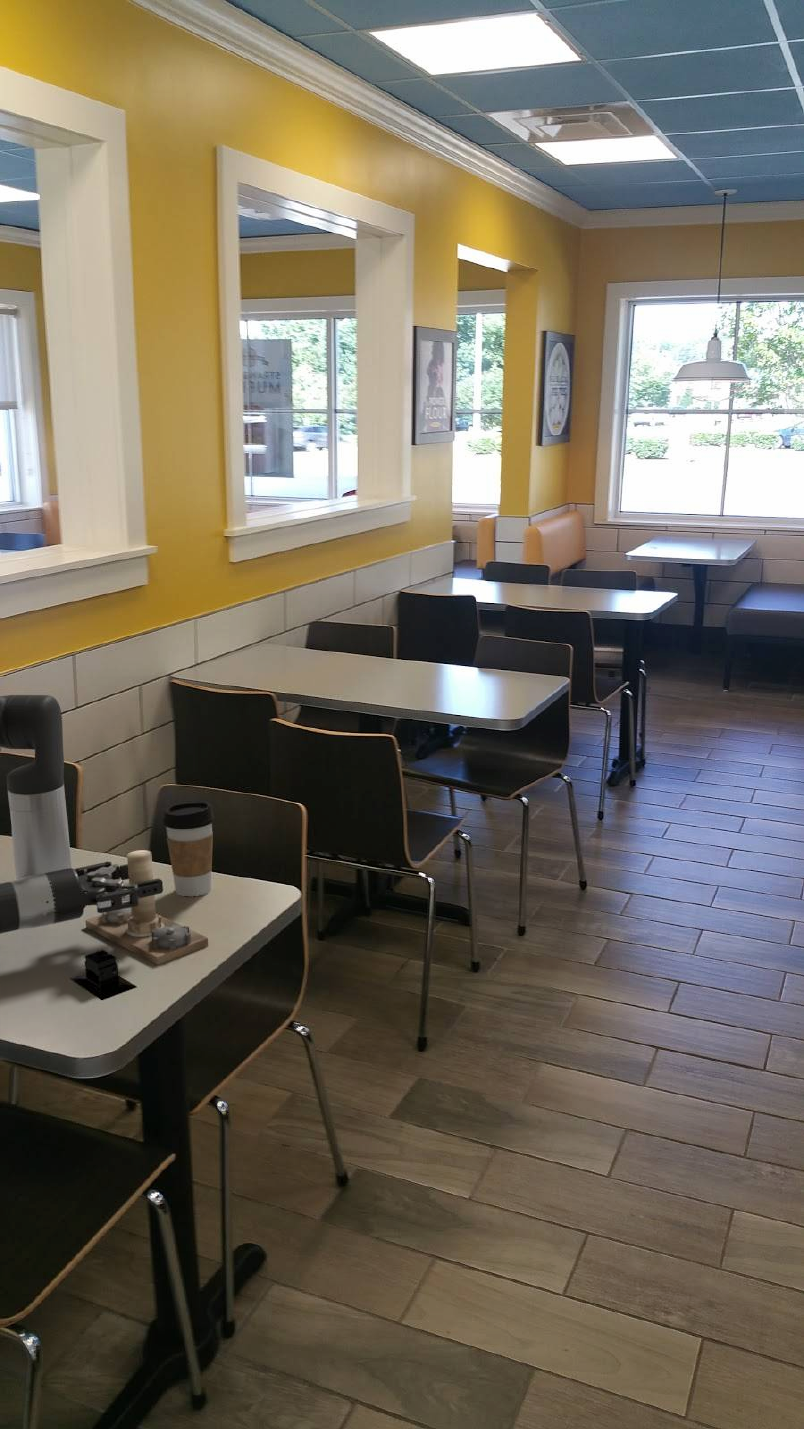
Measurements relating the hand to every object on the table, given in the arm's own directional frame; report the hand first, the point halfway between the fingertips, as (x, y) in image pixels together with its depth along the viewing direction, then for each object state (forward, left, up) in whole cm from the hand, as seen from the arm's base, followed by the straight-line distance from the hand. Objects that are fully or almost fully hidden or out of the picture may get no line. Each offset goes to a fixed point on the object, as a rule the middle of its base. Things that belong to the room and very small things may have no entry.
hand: (152, 876), depth 175 cm
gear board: (0, -2, -9) cm, 10 cm away
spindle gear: (0, -2, -8) cm, 8 cm away
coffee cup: (-10, +14, -10) cm, 20 cm away
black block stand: (+9, -15, -10) cm, 20 cm away
